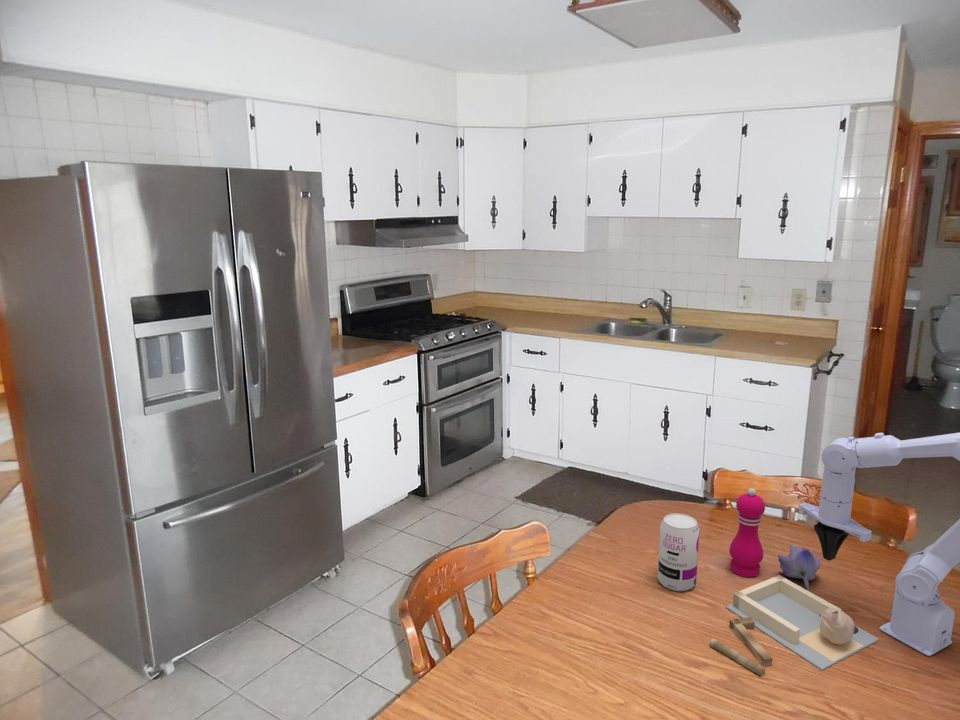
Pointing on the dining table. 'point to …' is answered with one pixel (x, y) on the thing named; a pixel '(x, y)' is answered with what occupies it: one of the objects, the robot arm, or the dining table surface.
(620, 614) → the dining table surface
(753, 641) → the crook tool
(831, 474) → the robot arm
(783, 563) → the flower
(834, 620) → the garlic bulb
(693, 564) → the supplement can
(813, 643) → the cubby board
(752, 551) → the pepper mill
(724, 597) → the dining table surface
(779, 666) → the dining table surface
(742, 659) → the straight stick
